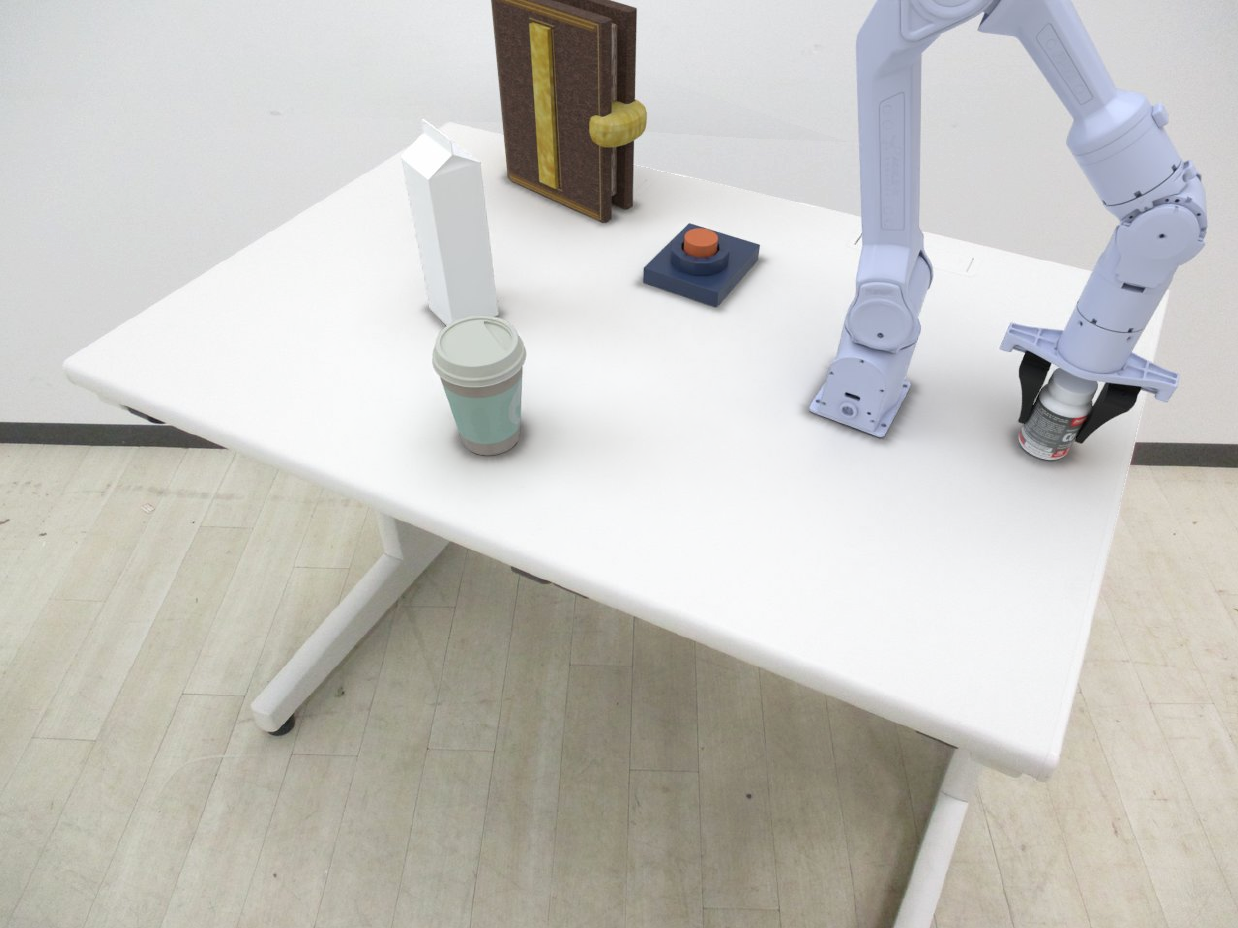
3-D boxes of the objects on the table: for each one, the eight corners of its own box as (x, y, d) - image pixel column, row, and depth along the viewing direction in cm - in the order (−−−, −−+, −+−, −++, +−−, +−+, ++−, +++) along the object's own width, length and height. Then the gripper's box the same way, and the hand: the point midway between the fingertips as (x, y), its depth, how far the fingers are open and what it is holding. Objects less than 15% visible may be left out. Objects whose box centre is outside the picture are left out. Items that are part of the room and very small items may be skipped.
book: (496, 180, 121) (476, -12, 103) (538, 158, 125) (526, -29, 107) (614, 234, 111) (615, 32, 93) (654, 208, 115) (663, 11, 97)
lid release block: (716, 308, 100) (719, 279, 97) (642, 283, 103) (643, 254, 100) (758, 259, 107) (762, 231, 104) (687, 237, 110) (690, 210, 108)
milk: (454, 334, 96) (421, 149, 80) (428, 309, 99) (392, 126, 83) (500, 315, 99) (477, 131, 83) (473, 290, 102) (447, 109, 86)
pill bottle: (1058, 468, 82) (1094, 404, 76) (1010, 447, 84) (1041, 383, 78) (1073, 441, 84) (1109, 377, 78) (1026, 421, 86) (1058, 357, 80)
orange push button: (707, 262, 100) (708, 249, 99) (677, 253, 101) (678, 240, 100) (722, 246, 102) (723, 234, 101) (692, 237, 104) (693, 225, 103)
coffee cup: (529, 466, 82) (519, 371, 73) (441, 465, 82) (420, 369, 73) (537, 407, 88) (528, 312, 79) (455, 405, 88) (437, 310, 79)
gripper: (1209, 315, 72) (1137, 429, 82) (1034, 265, 77) (986, 378, 87) (1201, 359, 68) (1127, 474, 78) (1017, 304, 73) (969, 419, 83)
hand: (1052, 427), depth 82 cm, fingers closed on pill bottle, 5 cm apart
